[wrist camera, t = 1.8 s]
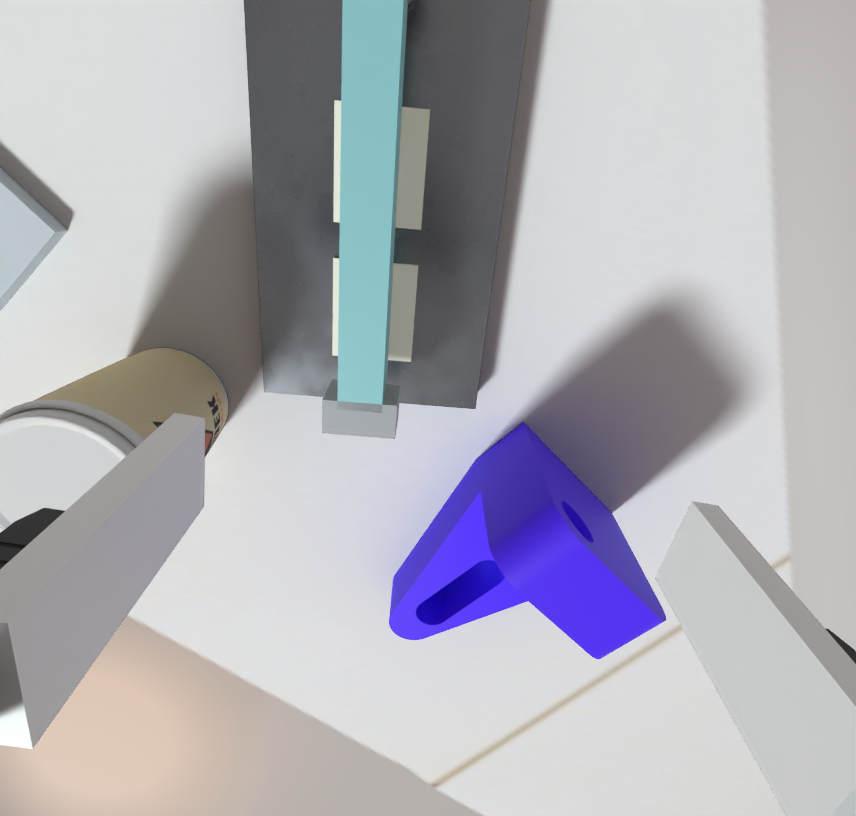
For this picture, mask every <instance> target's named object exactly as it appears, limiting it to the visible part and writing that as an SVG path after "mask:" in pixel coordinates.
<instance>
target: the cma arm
mask: <svg viewBox="0 0 856 816" xmlns="http://www.w3.org/2000/svg"><path fill="white" fill-rule="evenodd" d="M411 1H412V0H343V5H342V84H341V162H340V241H339V319H338V380H333V379H332V381H331V383H330V385H329V387H328V390H327V392H326V394H325V396H324V398H323V400H322V433H329V434H342V435H354V436H367V437H380V438H393V439H395V435H396V428H397V421H398V411H399V396H400V385H394V384H387V370H388V352H389V334H390V316H391V298H392V280H393V262H394V244H395V226H396V208H397V190H398V172H399V154H400V136H401V118H402V100H403V82H404V64H405V46H406V28H407V10H408V5H409V4H410V2H411Z"/></svg>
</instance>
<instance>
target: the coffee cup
mask: <svg viewBox="0 0 856 816" xmlns="http://www.w3.org/2000/svg"><path fill="white" fill-rule="evenodd" d="M174 413H179V414H185V415H191V416H196V417H202V418H205V456H206V455H207V453H208V452H209V450H210V448H211V447H212V445H213V444H214V442H215V441H216V439H217V437H218V436H219V434H220V432H221V431H222V429H223V427H224V425H225V422H226V419H227V415H228V399H227V394H226V391H225V388H224V386H223V384H222V383H221V381H220V379H219V378H218V376H217V375H216V374H215V372H214V371H213V370H212V369H211V368H210V367H209V366H208V365H207V364H205V363H204V362H203V361H201V360H200V359H198V358H196V357H195V356H193V355H191V354H189V353H186V352H183V351H180V350H177V349H171V348H153V349H148V350H144V351H142V352H139V353H137V354H134V355H132V356H129V357H127V358H125V359H123V360H120V361H118V362H116V363H114V364H112V365H109V366H107V367H105V368H103V369H101V370H98V371H96V372H94V373H92V374H89V375H87V376H85V377H83V378H81V379H79V380H77V381H74V382H72V383H70V384H68V385H66V386H64V387H62V388H59V389H57V390H55V391H53V392H51V393H49V394H46V395H44V396H42V397H40V398H38V399H36V400H34V401H32V402H27V403H24V404H21V405H18V406H16V407H13V408H11V409H9V410H7V411H5V412H4V413H2V414H1V415H0V528H1V529H2V530H5V529H6V528H7V527H8V526H10V525H11V524H12V523H13V522H15V521H17V520H19V519H21V518H23V517H25V516H27V515H30V514H32V513H34V512H36V511H38V510H40V509H42V508H50V509H57V510H63V511H66V510H67V509H68V508H69V507H70V506H71V505H73V504H74V503H75V502H76V501H77V500H78V499H79V498H80V497H81V496H83V495H84V494H85V493H86V492H87V491H88V490H89V489H90V488H91V487H93V486H94V485H95V484H96V483H97V482H98V481H99V480H100V479H102V478H103V477H104V476H105V475H106V474H107V473H108V472H109V471H110V470H112V469H113V468H114V467H115V466H116V465H117V464H118V463H119V462H120V461H122V460H123V459H124V458H125V457H126V456H127V455H128V454H129V453H131V452H132V451H133V450H134V449H135V448H136V447H137V446H138V445H139V444H141V443H142V442H143V441H144V440H145V439H146V438H147V437H148V436H149V435H151V434H152V433H153V432H154V431H155V430H156V429H157V428H158V427H159V426H161V425H162V424H163V423H164V422H165V421H166V420H167V419H168V418H170V417H171V416H172V415H173V414H174Z"/></svg>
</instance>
